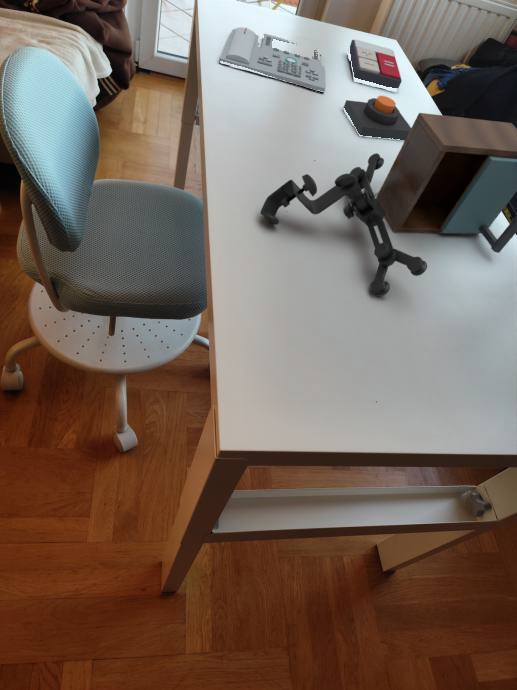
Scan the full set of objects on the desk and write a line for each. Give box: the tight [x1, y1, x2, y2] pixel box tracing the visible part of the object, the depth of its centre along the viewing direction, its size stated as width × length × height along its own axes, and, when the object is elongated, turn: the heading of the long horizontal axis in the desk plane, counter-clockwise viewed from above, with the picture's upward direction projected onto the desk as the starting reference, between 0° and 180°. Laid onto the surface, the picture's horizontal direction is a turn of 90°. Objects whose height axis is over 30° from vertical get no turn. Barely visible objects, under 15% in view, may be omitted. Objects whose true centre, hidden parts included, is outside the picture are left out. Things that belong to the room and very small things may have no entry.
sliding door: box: [441, 157, 517, 254], centre depth 77 cm, size 9×7×14 cm
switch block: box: [343, 97, 412, 141], centre depth 101 cm, size 12×10×4 cm
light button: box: [374, 95, 397, 114], centre depth 99 cm, size 4×4×2 cm
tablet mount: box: [260, 152, 428, 297], centre depth 73 cm, size 27×14×17 cm
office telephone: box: [218, 27, 327, 93], centre depth 109 cm, size 23×3×20 cm
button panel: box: [349, 39, 402, 89], centre depth 117 cm, size 11×4×15 cm
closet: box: [375, 112, 517, 235], centre depth 80 cm, size 18×8×16 cm, turn 104°
